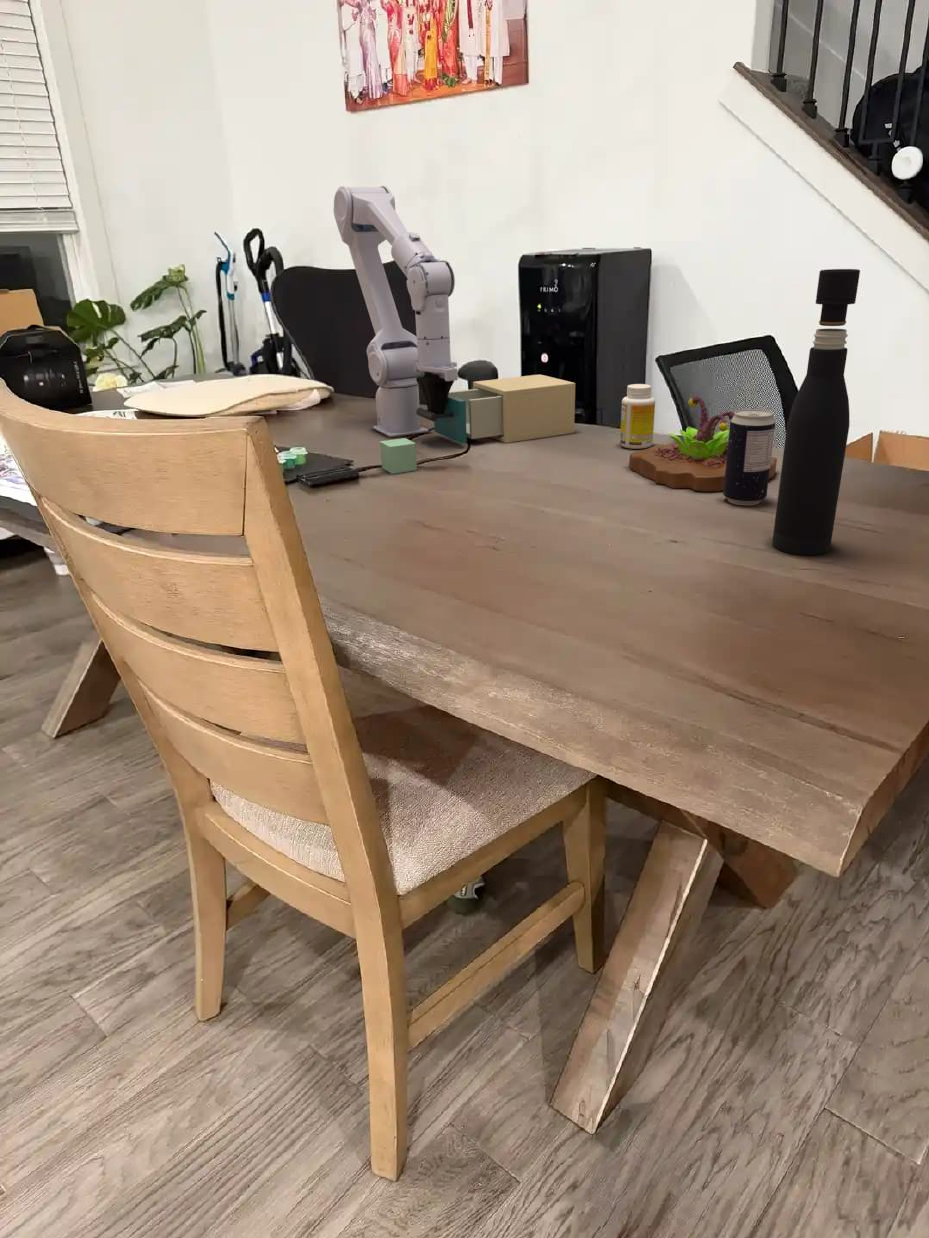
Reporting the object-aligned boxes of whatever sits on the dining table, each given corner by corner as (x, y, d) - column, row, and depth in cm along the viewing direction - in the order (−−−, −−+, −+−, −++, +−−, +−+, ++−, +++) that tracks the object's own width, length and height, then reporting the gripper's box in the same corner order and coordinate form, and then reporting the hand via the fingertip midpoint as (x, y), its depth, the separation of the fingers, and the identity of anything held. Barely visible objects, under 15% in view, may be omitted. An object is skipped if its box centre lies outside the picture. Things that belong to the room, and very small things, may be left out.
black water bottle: (824, 559, 95) (868, 271, 82) (765, 550, 98) (800, 272, 86) (835, 542, 100) (878, 268, 87) (779, 534, 103) (813, 268, 90)
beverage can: (766, 496, 117) (776, 409, 112) (765, 508, 112) (776, 417, 107) (723, 494, 119) (732, 407, 114) (721, 505, 114) (729, 416, 109)
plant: (705, 450, 142) (711, 382, 137) (796, 476, 126) (806, 399, 121) (608, 467, 134) (611, 396, 129) (693, 497, 118) (700, 416, 113)
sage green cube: (382, 468, 138) (380, 441, 136) (406, 464, 140) (405, 438, 138) (391, 474, 134) (390, 446, 133) (417, 470, 136) (415, 443, 134)
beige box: (505, 443, 152) (504, 391, 148) (474, 430, 162) (472, 381, 158) (574, 433, 157) (575, 383, 153) (539, 421, 168) (540, 374, 164)
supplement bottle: (659, 446, 146) (663, 385, 142) (638, 451, 143) (641, 389, 138) (634, 441, 150) (637, 382, 146) (613, 446, 147) (615, 386, 142)
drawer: (437, 446, 147) (435, 404, 144) (412, 434, 156) (409, 394, 153) (527, 434, 154) (527, 393, 150) (498, 423, 163) (497, 384, 160)
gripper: (472, 339, 141) (475, 421, 146) (437, 332, 153) (440, 408, 158) (434, 343, 138) (437, 426, 144) (400, 335, 150) (405, 412, 155)
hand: (436, 417), depth 151 cm, fingers closed, pressing on drawer
